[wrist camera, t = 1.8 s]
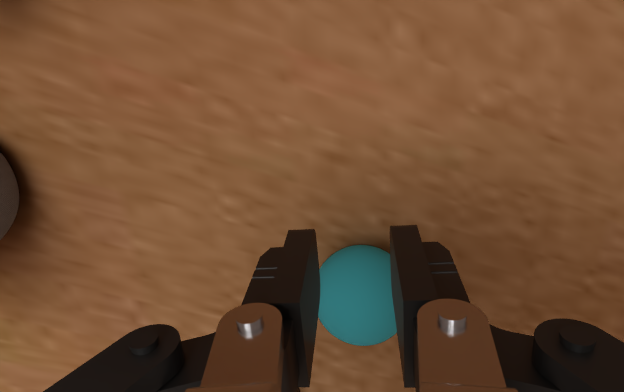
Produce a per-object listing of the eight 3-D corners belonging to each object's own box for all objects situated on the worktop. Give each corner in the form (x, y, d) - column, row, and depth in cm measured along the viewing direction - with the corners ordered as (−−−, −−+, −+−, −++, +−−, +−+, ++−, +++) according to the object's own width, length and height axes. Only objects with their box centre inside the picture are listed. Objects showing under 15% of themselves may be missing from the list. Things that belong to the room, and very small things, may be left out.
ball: (405, 226, 28) (418, 277, 23) (406, 304, 31) (418, 368, 25) (313, 230, 29) (303, 280, 24) (320, 306, 31) (313, 368, 26)
